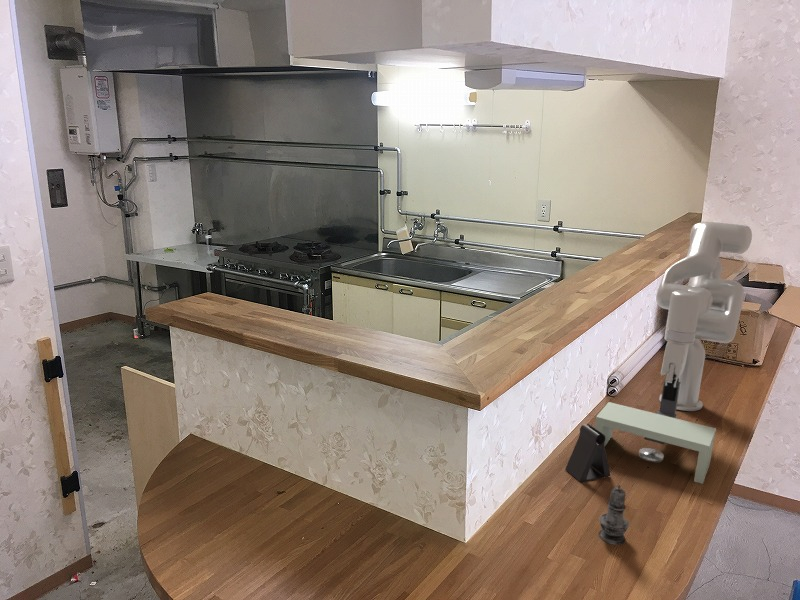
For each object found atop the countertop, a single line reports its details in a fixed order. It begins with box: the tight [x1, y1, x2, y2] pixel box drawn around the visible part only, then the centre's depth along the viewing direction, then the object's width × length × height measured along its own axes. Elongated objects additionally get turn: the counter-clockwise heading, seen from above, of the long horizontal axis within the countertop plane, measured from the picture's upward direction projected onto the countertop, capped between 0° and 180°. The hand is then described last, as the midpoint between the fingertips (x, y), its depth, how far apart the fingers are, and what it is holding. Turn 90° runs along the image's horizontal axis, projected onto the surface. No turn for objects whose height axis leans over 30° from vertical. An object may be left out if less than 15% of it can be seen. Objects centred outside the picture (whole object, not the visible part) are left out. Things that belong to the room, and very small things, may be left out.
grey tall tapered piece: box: [598, 484, 630, 546], centre depth 132 cm, size 6×6×12 cm
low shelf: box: [594, 401, 717, 485], centre depth 166 cm, size 12×27×10 cm, turn 58°
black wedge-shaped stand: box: [564, 423, 611, 483], centre depth 157 cm, size 9×6×12 cm, turn 110°
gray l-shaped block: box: [643, 378, 681, 445], centre depth 175 cm, size 17×5×12 cm, turn 147°
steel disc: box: [638, 447, 665, 463], centre depth 168 cm, size 6×6×1 cm
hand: (669, 398), depth 180 cm, fingers closed on gray l-shaped block
